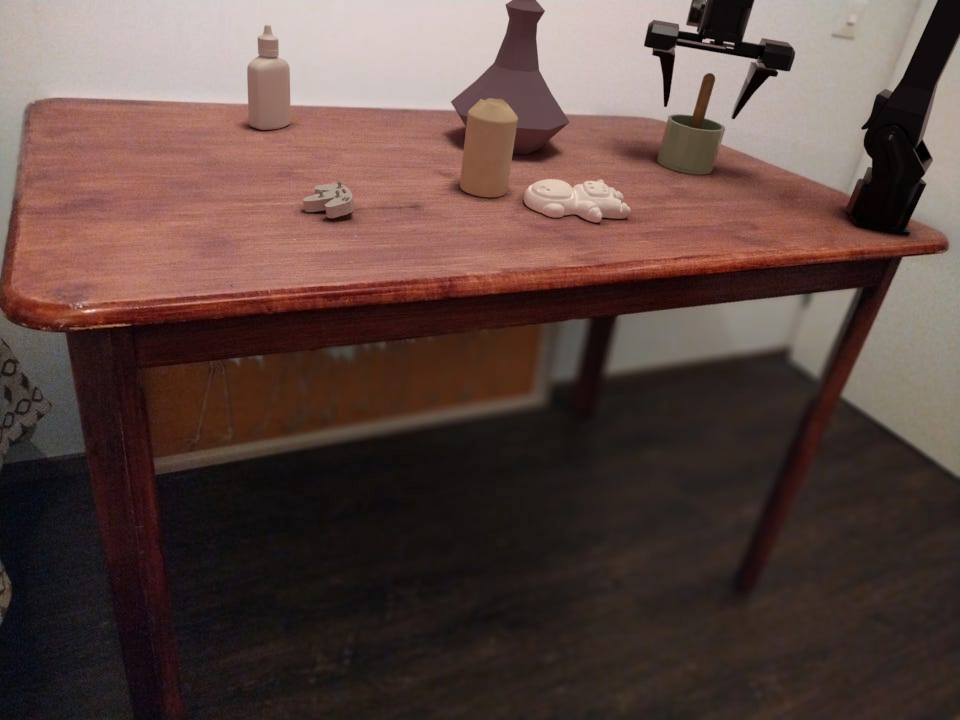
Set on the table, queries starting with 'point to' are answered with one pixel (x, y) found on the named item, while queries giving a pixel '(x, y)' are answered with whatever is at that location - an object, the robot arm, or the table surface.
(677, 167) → the scrub cup
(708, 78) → the brush
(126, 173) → the table surface
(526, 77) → the purple faceted vase
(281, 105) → the eye dropper bottle
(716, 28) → the robot arm
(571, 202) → the astronaut figurine
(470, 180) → the candle
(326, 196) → the game controller
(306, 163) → the table surface
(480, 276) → the table surface
